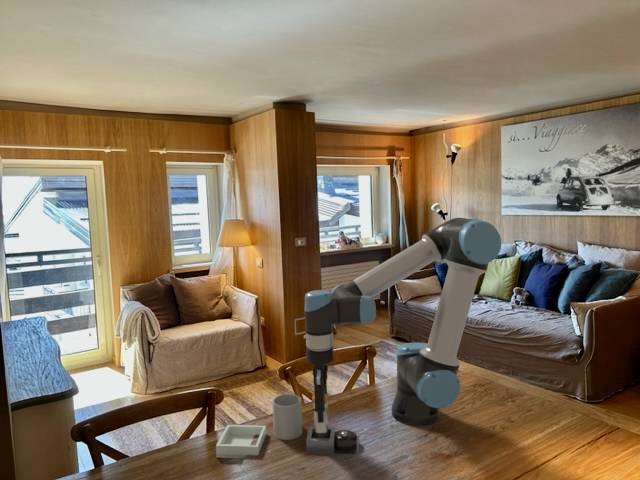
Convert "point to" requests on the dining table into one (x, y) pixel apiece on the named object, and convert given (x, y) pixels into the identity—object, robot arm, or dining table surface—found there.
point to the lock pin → (325, 435)
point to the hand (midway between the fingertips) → (322, 427)
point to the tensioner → (333, 442)
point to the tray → (240, 441)
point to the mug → (287, 417)
